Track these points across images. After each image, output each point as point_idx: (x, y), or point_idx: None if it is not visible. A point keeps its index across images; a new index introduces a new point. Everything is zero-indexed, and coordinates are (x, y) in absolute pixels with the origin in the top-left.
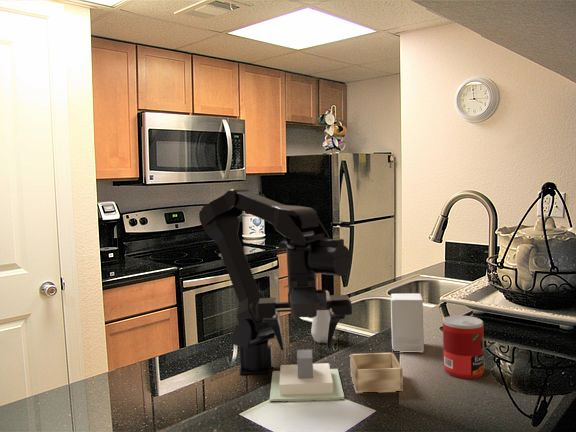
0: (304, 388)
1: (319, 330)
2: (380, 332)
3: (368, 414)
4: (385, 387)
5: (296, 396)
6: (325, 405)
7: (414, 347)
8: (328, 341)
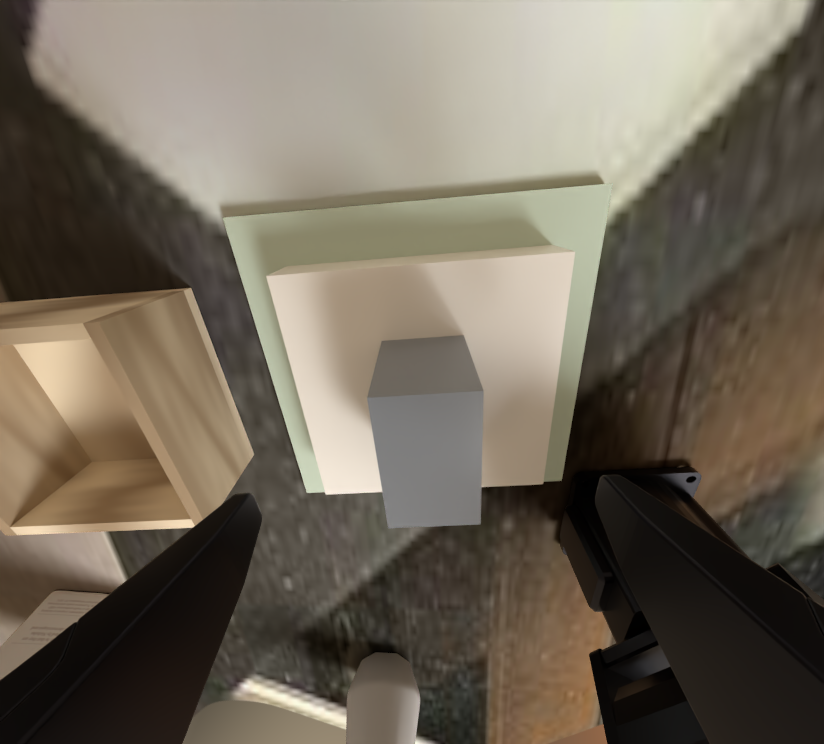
0: (426, 258)
1: (389, 704)
2: (227, 692)
3: (48, 3)
4: (39, 303)
5: (466, 222)
6: (312, 141)
7: (64, 611)
8: (205, 535)
